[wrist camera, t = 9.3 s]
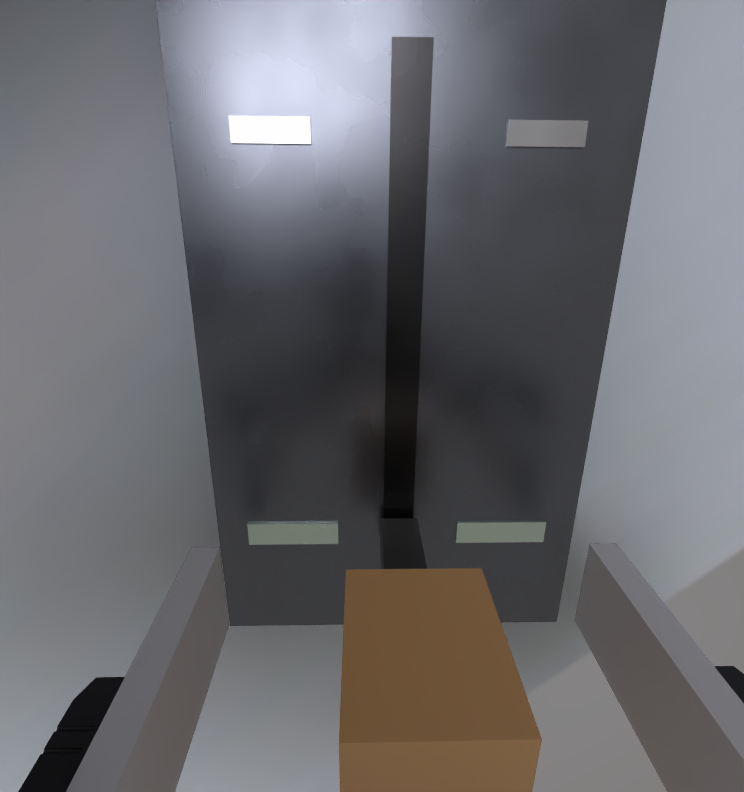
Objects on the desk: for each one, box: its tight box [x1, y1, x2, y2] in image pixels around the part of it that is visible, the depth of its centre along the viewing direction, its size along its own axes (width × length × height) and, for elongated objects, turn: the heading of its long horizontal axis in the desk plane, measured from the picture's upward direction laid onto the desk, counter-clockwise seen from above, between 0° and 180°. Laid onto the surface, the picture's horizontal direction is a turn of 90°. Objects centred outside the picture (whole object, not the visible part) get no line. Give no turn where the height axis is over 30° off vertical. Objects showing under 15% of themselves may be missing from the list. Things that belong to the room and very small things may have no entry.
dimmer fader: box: [339, 518, 542, 792], centre depth 12 cm, size 4×3×8 cm
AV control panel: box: [155, 0, 667, 626], centre depth 15 cm, size 20×12×3 cm, turn 0°
